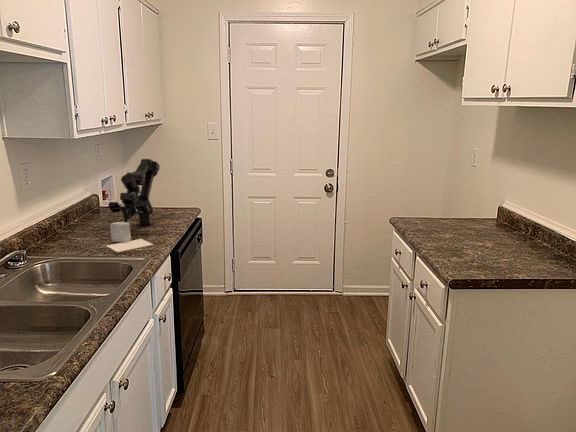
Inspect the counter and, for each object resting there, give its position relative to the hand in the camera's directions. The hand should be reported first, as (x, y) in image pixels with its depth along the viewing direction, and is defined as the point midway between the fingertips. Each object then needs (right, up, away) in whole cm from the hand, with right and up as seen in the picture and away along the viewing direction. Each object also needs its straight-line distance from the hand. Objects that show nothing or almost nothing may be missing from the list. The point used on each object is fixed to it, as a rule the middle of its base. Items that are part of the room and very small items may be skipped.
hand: (125, 222), depth 224 cm
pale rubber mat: (+6, -11, -11) cm, 16 cm away
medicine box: (0, -9, -5) cm, 10 cm away
